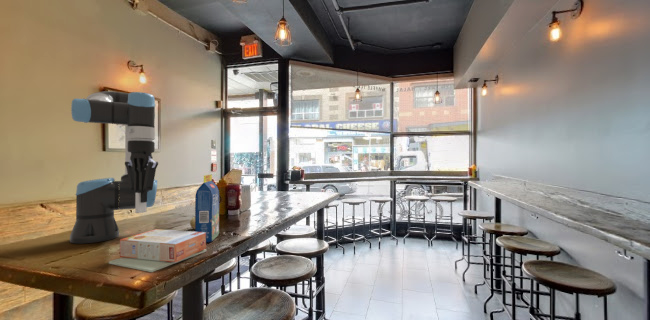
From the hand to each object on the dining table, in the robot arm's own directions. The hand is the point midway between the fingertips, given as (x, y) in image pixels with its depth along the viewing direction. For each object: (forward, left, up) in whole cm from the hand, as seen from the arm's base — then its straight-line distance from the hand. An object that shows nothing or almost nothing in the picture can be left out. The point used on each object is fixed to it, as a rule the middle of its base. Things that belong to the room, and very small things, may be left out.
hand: (140, 212), depth 96 cm
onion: (-9, +34, -14) cm, 38 cm away
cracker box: (-2, 0, -10) cm, 10 cm away
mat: (+9, 0, -14) cm, 16 cm away
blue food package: (+6, +23, -14) cm, 28 cm away
